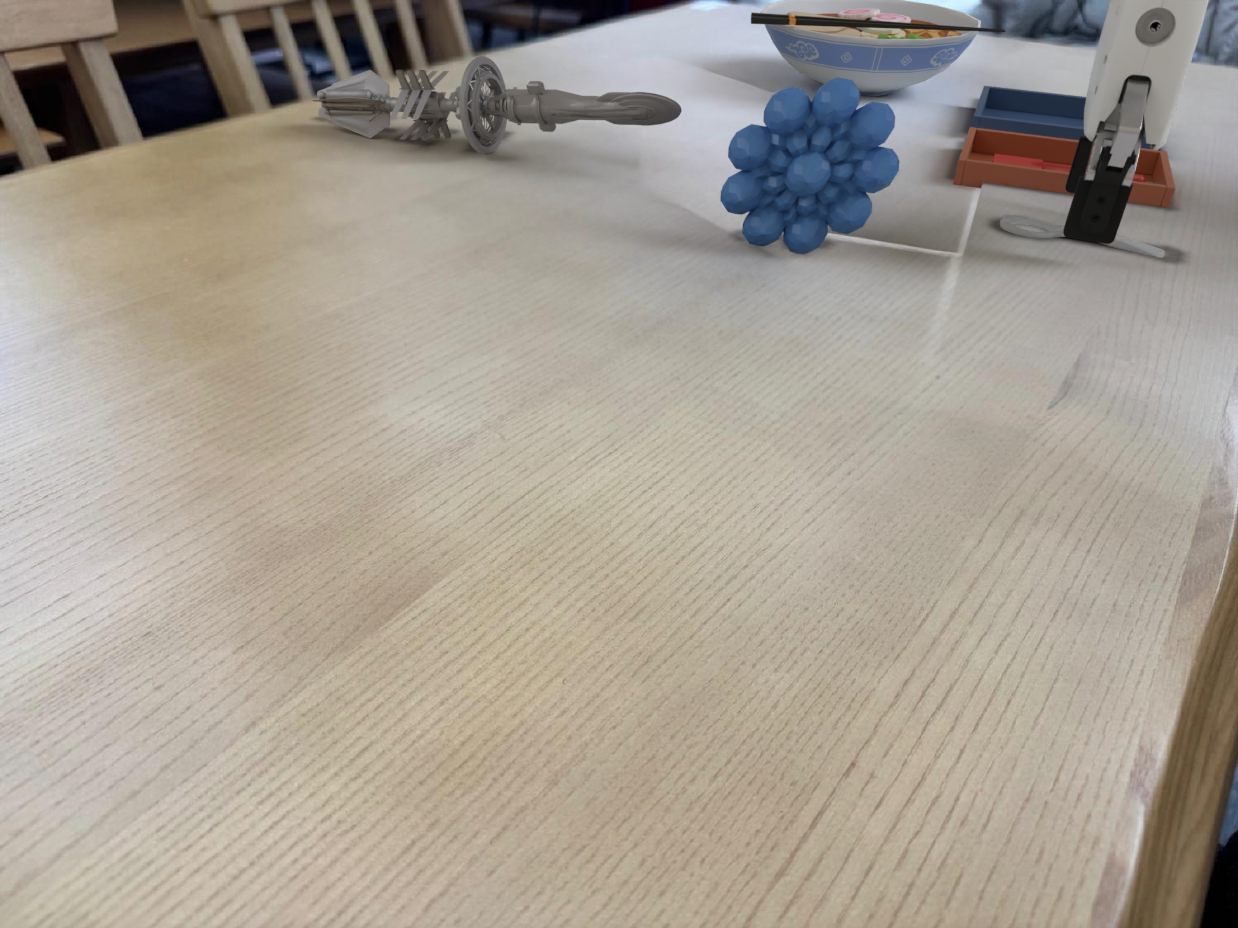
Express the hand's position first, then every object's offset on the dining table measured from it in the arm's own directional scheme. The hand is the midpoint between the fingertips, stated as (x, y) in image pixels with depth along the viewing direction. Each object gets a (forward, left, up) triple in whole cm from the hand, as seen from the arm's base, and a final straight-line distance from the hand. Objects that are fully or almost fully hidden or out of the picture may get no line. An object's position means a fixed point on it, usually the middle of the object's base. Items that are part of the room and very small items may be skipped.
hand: (1087, 215), depth 70 cm
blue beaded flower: (+19, +8, -3) cm, 20 cm away
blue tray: (+2, -30, -3) cm, 30 cm away
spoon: (0, 0, -3) cm, 3 cm away
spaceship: (+49, -2, -3) cm, 49 cm away
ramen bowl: (+23, -39, -3) cm, 45 cm away
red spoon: (+2, -15, -2) cm, 15 cm away
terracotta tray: (+2, -15, -3) cm, 16 cm away
